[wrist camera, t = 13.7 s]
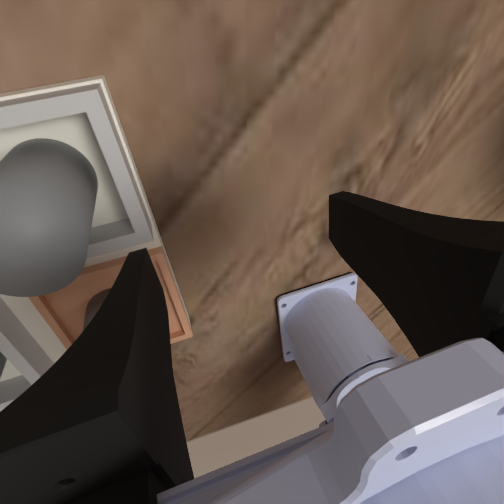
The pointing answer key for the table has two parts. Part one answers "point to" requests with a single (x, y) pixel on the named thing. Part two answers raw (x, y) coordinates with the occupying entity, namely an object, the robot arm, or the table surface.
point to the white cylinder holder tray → (66, 223)
